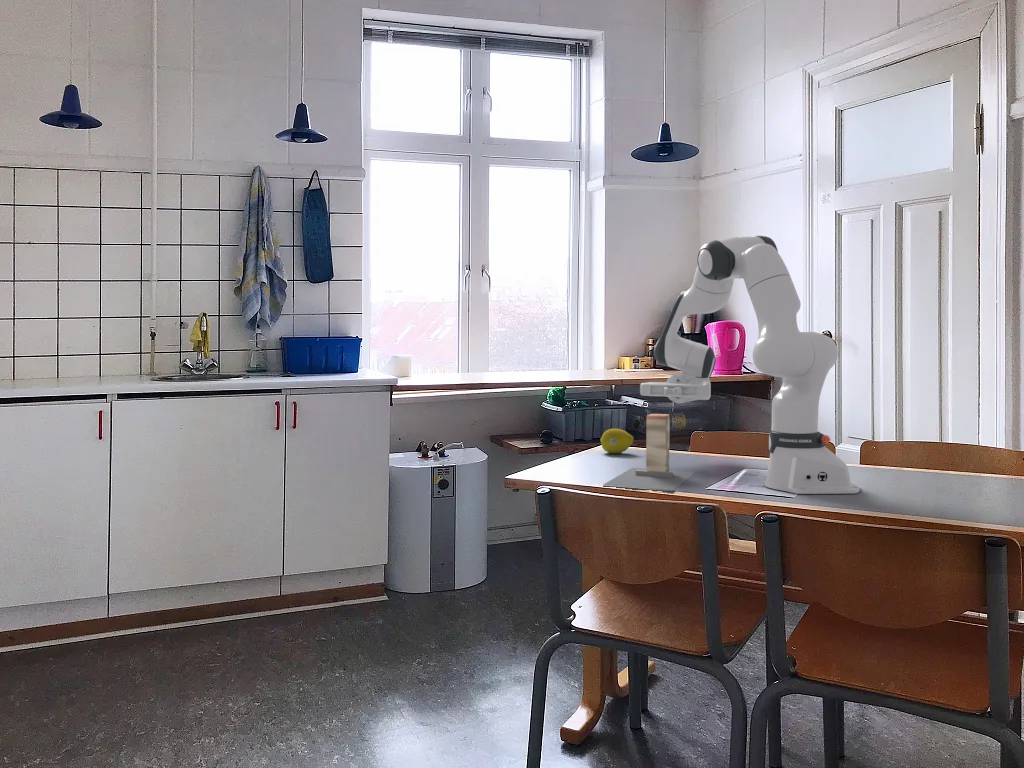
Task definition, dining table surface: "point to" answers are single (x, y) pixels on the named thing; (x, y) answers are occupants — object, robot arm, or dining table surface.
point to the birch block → (657, 442)
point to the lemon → (616, 441)
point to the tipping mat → (650, 480)
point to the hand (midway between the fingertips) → (669, 392)
